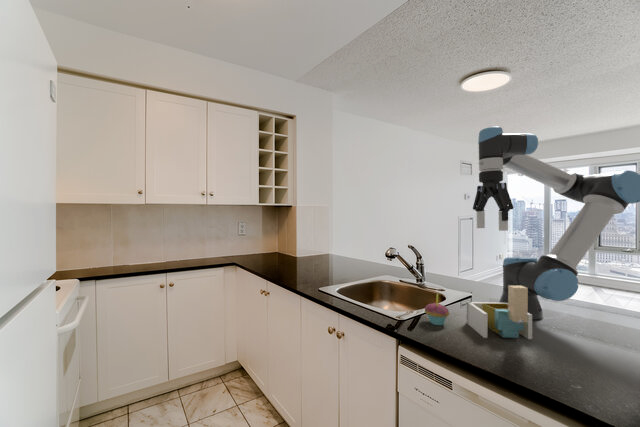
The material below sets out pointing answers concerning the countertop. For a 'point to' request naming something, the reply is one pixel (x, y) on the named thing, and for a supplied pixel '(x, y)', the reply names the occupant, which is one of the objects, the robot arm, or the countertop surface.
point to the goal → (480, 320)
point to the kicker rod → (513, 312)
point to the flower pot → (492, 313)
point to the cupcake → (436, 312)
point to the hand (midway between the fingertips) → (491, 229)
